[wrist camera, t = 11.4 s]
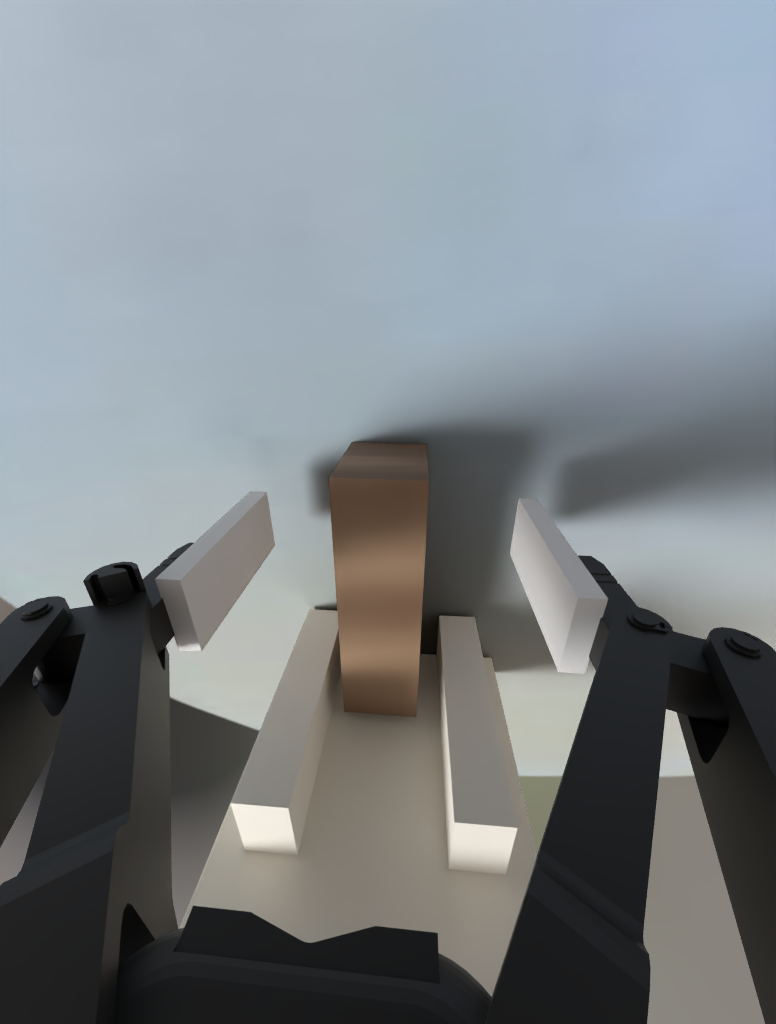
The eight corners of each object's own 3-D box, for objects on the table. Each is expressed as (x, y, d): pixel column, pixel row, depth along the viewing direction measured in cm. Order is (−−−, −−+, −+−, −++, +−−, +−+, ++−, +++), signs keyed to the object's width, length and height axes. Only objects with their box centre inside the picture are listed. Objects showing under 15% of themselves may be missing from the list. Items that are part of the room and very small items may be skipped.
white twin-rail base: (288, 608, 22) (104, 985, 9) (497, 618, 21) (619, 1048, 8) (296, 665, 24) (154, 1042, 11) (488, 676, 23) (577, 1100, 10)
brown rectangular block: (416, 640, 22) (416, 717, 18) (359, 637, 23) (343, 711, 18) (426, 444, 17) (429, 480, 13) (352, 442, 17) (328, 477, 13)
